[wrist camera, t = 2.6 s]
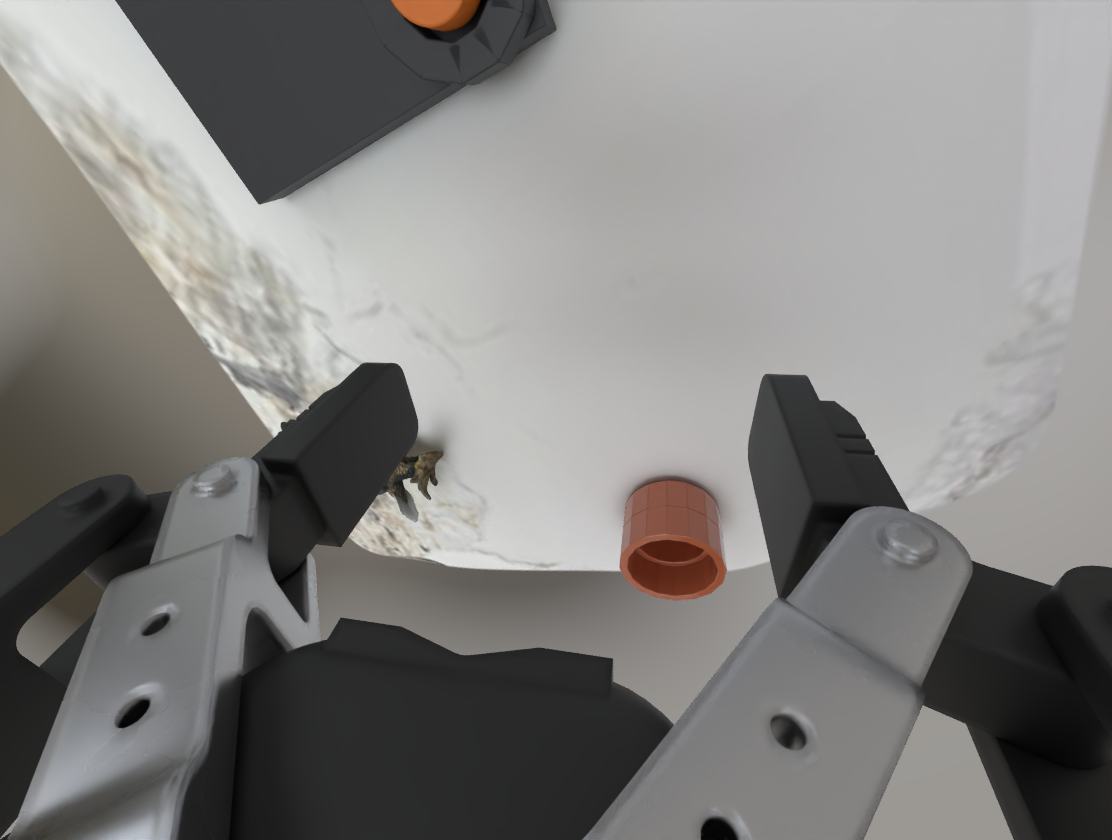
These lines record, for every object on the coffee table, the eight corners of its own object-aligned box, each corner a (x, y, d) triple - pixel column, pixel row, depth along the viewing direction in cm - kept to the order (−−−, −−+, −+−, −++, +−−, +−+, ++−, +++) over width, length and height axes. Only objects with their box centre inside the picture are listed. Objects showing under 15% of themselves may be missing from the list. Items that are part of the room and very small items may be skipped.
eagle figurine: (434, 395, 28) (285, 384, 28) (416, 511, 26) (253, 501, 26) (452, 433, 36) (333, 424, 35) (438, 527, 33) (311, 519, 33)
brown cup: (705, 467, 29) (711, 528, 25) (727, 533, 32) (736, 596, 28) (613, 484, 31) (605, 542, 27) (641, 544, 34) (638, 603, 30)
